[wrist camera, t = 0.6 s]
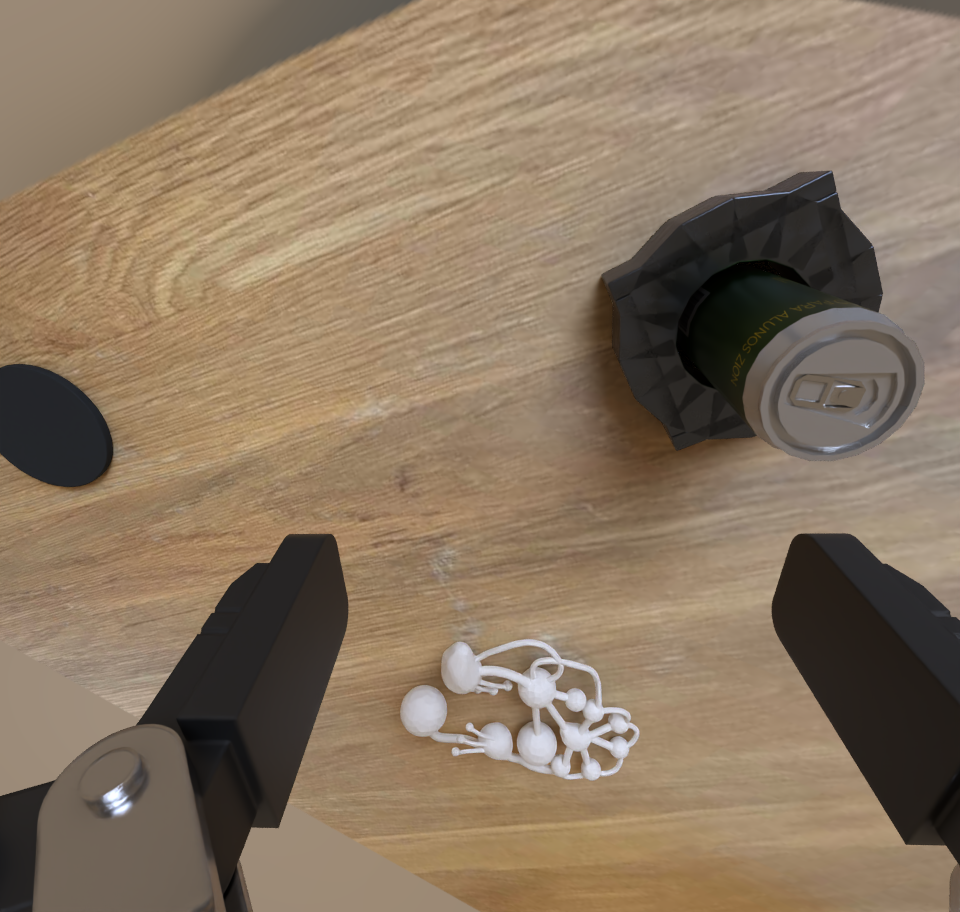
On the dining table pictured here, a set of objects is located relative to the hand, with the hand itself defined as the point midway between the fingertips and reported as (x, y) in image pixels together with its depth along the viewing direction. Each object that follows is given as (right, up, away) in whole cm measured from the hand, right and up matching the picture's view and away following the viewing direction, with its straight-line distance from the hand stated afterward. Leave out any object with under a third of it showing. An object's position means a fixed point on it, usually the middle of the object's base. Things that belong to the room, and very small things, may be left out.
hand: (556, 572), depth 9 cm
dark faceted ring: (+12, +10, +18) cm, 24 cm away
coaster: (-31, +4, +26) cm, 41 cm away
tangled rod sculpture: (+3, -17, +34) cm, 38 cm away
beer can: (+12, +10, +18) cm, 24 cm away
